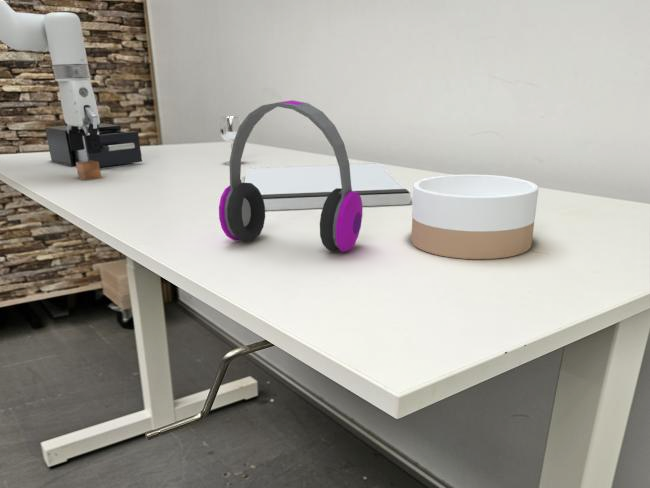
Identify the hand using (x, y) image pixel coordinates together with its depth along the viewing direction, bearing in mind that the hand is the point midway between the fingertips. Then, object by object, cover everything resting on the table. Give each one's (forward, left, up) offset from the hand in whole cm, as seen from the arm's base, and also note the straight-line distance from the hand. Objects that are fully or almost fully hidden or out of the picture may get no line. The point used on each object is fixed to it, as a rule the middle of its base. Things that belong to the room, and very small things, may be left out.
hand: (86, 151), depth 144 cm
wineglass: (+36, -9, -7) cm, 37 cm away
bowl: (+15, -99, -7) cm, 100 cm away
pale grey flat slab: (+27, -53, -7) cm, 60 cm away
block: (0, 0, -6) cm, 6 cm away
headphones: (-4, -81, -7) cm, 81 cm away
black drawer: (+12, +15, -6) cm, 20 cm away
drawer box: (+12, +29, -6) cm, 32 cm away
